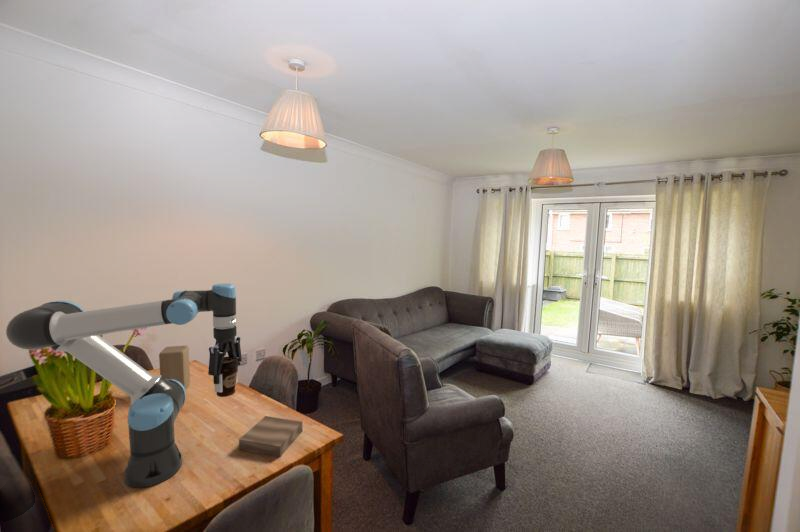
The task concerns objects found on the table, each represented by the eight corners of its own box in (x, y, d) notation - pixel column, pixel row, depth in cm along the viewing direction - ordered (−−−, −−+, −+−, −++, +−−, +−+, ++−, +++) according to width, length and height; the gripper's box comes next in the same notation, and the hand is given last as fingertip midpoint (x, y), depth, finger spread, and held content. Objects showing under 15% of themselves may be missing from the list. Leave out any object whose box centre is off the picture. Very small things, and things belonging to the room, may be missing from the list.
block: (167, 385, 173) (165, 346, 171) (190, 383, 176) (188, 344, 174) (160, 395, 163) (158, 353, 161) (184, 392, 166) (183, 351, 164)
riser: (280, 457, 122) (280, 446, 121) (239, 449, 125) (238, 439, 125) (302, 431, 137) (302, 421, 137) (265, 425, 141) (265, 416, 140)
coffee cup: (243, 389, 135) (243, 356, 133) (231, 399, 126) (230, 364, 125) (222, 387, 135) (221, 354, 134) (208, 397, 127) (207, 362, 126)
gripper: (213, 335, 117) (215, 400, 120) (251, 320, 137) (252, 376, 140) (194, 333, 119) (196, 398, 121) (234, 318, 139) (235, 374, 141)
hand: (226, 386), depth 131 cm, fingers closed on coffee cup, 7 cm apart
